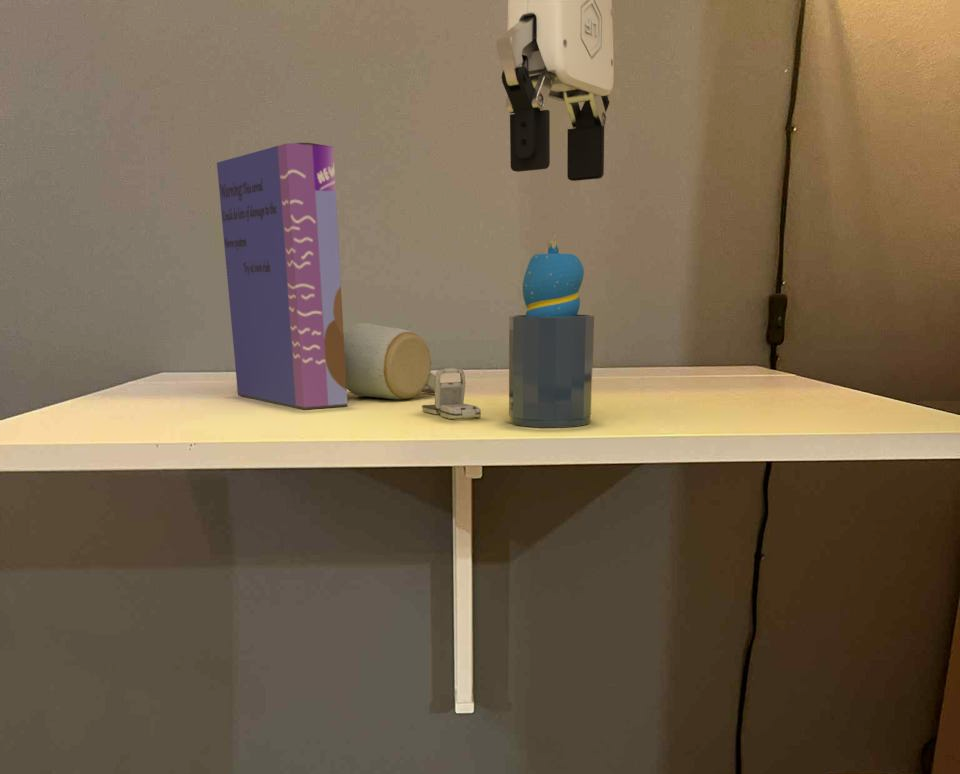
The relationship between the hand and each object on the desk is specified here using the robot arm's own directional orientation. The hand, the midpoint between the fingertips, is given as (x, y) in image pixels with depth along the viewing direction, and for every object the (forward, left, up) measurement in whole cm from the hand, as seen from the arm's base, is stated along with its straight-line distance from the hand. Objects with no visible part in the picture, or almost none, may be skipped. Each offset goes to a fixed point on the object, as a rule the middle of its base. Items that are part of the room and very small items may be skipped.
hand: (559, 174), depth 80 cm
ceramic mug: (+25, -10, -20) cm, 34 cm away
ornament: (0, 0, -20) cm, 20 cm away
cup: (0, 0, -20) cm, 20 cm away
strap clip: (+11, 0, -20) cm, 23 cm away
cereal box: (+33, -2, -20) cm, 39 cm away
